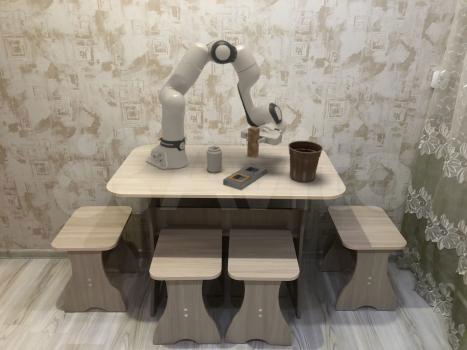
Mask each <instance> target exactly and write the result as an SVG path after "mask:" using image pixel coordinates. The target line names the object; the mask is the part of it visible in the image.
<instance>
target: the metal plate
mask: <svg viewBox="0 0 467 350" xmlns="http://www.w3.org/2000/svg"><path fill="white" fill-rule="evenodd" d="M267 173H268V168H267V167H264V166H260V165H256V164H252V163H249V164H247V165H245V166H244V167H242V168H240V169H238V170H236V172H234V173H232V174H230V175H229V176H227V177H225V178H223V179H222V183H223V184H222V185H224V186H227V185H228V186H227V187H231V188H234V189H237V190H240V191H241V190H244V189H245V188H246V187H247V186H249V185H250V184H252V183H254V182H255V181H256V180H258V179H260V178H261V177H262V176H264V175H266V174H267Z"/></svg>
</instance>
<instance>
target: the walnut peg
mask: <svg viewBox="0 0 467 350" xmlns="http://www.w3.org/2000/svg"><path fill="white" fill-rule="evenodd" d="M247 129H248V141H247V145H246V146H247V149H246V151H247V153H246V157H249V158H253V159H255V158H257V157H259V151H260V150H259V149H260V143H259V144H258V143H256V140H257V139H259V132H260V127H253V126H250V127H248V128H247Z"/></svg>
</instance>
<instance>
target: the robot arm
mask: <svg viewBox="0 0 467 350" xmlns="http://www.w3.org/2000/svg"><path fill="white" fill-rule="evenodd" d="M209 62H212V63H215V64H217V65H227V64H230V65H231V66H233V68H234V71H235V72H236V76H237V77H238V82H237V87H236V88H237V91H238V94H239V98H240V101H241V104H242V107H243V109H244V113H245V119H246V123H247V125H249V126H250V127H252V126H253V127H258V128H260V132H259V139H257V140H256V143H258V144H259V145H260V144H267V145H271V146H278V145H280V144H281V143H282V142H283V141H282V139H283V135H284V133H285V132H286V131H287V126H288V125H287V123H286V121H285V120H284V118H283V114H282V110H281V108H280V107H279V106H278V105H277V104H276V103H275V102H270V103H266V104H264V105H261V106H258V107H255V105H254V102H253V100H252V97H251V94H250V93H251V88H253V86H255V84H257V82H258V80H259V79H260V77H261V69H260V66H259V63H257V59H256V58H255V56H254V54H253V53H252V52H251V50H250V48H249V47H248V46H247V45H245V44H238V45H235V46H234V45H233V44H231V43H230V42H228V41H226V40H224V39H216V40H213V41H211V42H209V43H208V44H204V43H202V42H200V41H199V42H197V41H195V42H193V43H192V44H191V45H190V46H189V48H188V49H187V50H186V52H185V53H184V54H183V56H182V57H181V59H180V61H179V63H178V65H177V66H176V68H175V70H174V71H173V73H172V75H170V77H169V78H168V80H167V81H166V82H165V84H164V85H163V87H161V89H160V90H159V91H158V97H157V98H158V102H159V104H160V105H161V113H162V114H161V137H160V138H158V142H159V144H158V145H157V146H155V147H154V148H153V149H152V150H151V152H150V156H149V157H148V158H147V159H145V160H146V163H149V164H150V165H153V167H157V168H159V169H160V170H171V169H181V168H184V167H187V166H188V165H189V160H188V158H187V157H188V156H187V151H186V137H185V125H184V124H185V114H186V99H185V95H186V94H187V92H188V91H189V90H190V89H191V88H192V87H194V85H195V84H196V82H197V80H198V79H199V77H200V75H201V74H202V72H203V70H204V68H205V67H206V65H207V64H208V63H209ZM240 138H242V139H245V140H246V142H248V128H245V129H242V130H241V131H240Z"/></svg>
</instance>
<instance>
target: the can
mask: <svg viewBox="0 0 467 350" xmlns="http://www.w3.org/2000/svg"><path fill="white" fill-rule="evenodd" d="M222 165H223V151H222V149H221V147H220V146H216V145H214V146H212V145H211V146H209V147H207V150H206V170H207V171H208V172H209V173H214V174H216V173H220V172H221V171H222V169H223V166H222Z"/></svg>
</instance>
